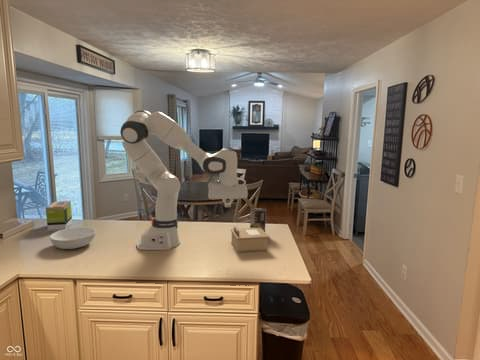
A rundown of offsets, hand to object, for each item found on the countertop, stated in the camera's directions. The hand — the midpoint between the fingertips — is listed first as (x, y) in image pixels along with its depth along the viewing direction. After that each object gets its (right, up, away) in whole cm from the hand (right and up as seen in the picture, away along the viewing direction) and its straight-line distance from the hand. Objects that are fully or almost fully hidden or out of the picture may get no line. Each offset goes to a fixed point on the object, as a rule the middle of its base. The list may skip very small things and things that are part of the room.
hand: (227, 206), depth 162 cm
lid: (+11, -15, +5) cm, 19 cm away
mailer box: (+11, -22, +7) cm, 26 cm away
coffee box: (+17, -20, +25) cm, 36 cm away
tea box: (-104, -15, +30) cm, 109 cm away
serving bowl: (-80, -21, +2) cm, 83 cm away
